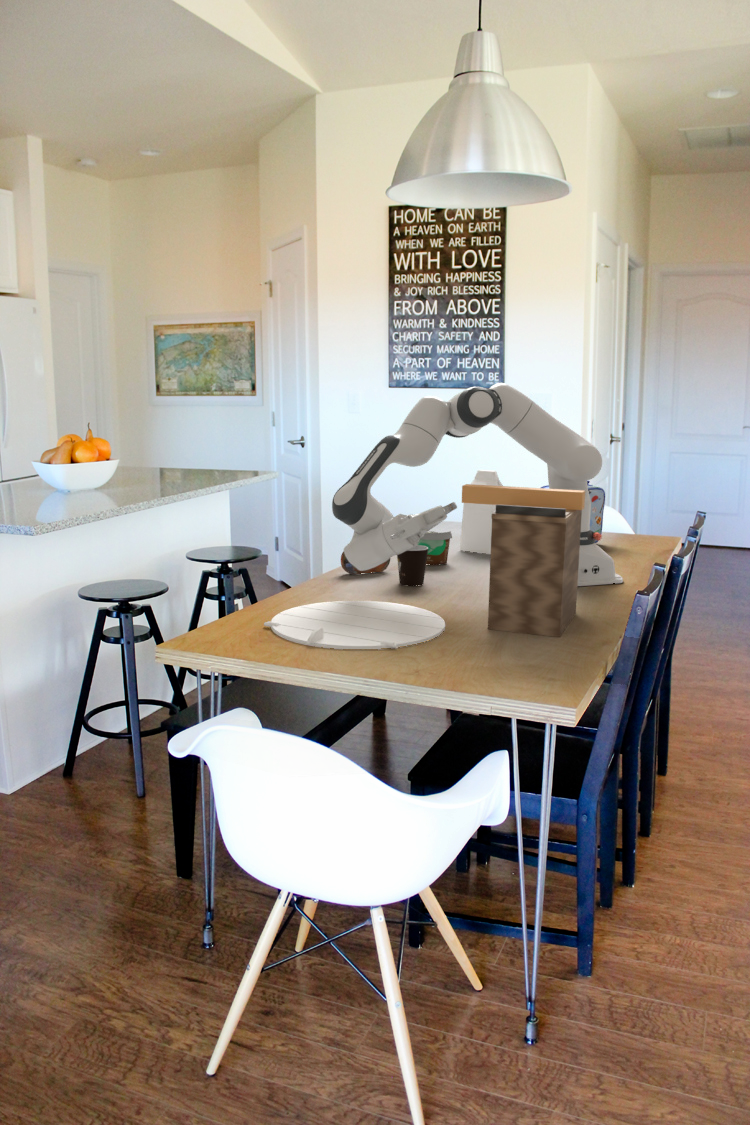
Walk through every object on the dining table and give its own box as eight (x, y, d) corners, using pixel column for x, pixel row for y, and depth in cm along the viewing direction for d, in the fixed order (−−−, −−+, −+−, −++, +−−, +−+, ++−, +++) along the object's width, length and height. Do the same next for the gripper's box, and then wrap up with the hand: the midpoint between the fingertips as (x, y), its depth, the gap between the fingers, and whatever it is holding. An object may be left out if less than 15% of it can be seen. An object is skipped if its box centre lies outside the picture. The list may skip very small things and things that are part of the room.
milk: (508, 549, 301) (511, 470, 296) (493, 554, 292) (496, 473, 287) (475, 545, 308) (478, 468, 302) (459, 550, 298) (462, 470, 293)
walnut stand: (487, 629, 204) (491, 505, 198) (510, 606, 225) (515, 494, 219) (559, 637, 198) (566, 510, 193) (576, 613, 219) (582, 497, 214)
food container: (406, 564, 275) (406, 531, 273) (413, 560, 281) (413, 528, 279) (445, 567, 271) (446, 534, 269) (451, 563, 276) (452, 531, 274)
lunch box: (585, 539, 322) (589, 477, 318) (607, 544, 313) (611, 480, 309) (527, 546, 307) (530, 481, 303) (548, 551, 299) (552, 484, 294)
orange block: (461, 502, 216) (462, 485, 215) (466, 500, 220) (466, 484, 219) (581, 510, 206) (582, 492, 206) (584, 507, 210) (585, 490, 209)
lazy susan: (391, 663, 180) (391, 646, 179) (232, 634, 198) (232, 619, 198) (472, 619, 214) (473, 605, 213) (330, 598, 233) (330, 585, 232)
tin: (343, 576, 257) (343, 546, 255) (338, 574, 260) (339, 545, 258) (390, 572, 264) (391, 543, 262) (385, 569, 267) (386, 541, 265)
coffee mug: (424, 588, 244) (425, 551, 242) (393, 586, 245) (393, 549, 243) (431, 579, 255) (431, 543, 253) (400, 577, 256) (401, 542, 254)
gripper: (381, 527, 216) (430, 501, 210) (409, 515, 234) (455, 491, 229) (394, 551, 216) (443, 525, 210) (421, 537, 234) (467, 513, 229)
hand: (449, 507), depth 220 cm, fingers open, 8 cm apart
